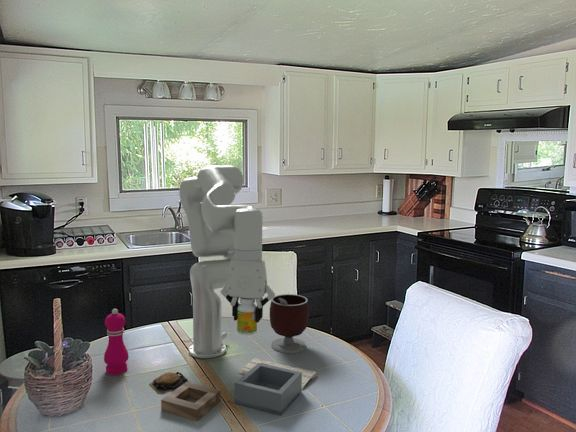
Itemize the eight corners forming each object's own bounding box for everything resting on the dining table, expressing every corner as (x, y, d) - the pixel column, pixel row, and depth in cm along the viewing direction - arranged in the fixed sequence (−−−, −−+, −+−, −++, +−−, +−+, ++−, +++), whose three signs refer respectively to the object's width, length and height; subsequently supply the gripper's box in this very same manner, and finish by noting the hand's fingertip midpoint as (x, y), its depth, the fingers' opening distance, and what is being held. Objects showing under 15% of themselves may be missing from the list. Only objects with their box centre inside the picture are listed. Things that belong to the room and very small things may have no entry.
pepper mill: (121, 377, 149) (119, 313, 147) (99, 374, 151) (97, 311, 148) (133, 366, 156) (131, 306, 154) (112, 364, 158) (110, 304, 155)
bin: (258, 381, 148) (258, 362, 147) (301, 392, 142) (301, 372, 142) (234, 403, 135) (234, 382, 135) (280, 415, 130) (281, 394, 129)
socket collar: (186, 391, 141) (186, 381, 141) (220, 400, 137) (220, 390, 136) (161, 410, 131) (161, 399, 131) (197, 420, 127) (197, 409, 126)
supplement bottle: (233, 333, 133) (233, 298, 132) (243, 327, 138) (244, 293, 137) (250, 336, 131) (250, 301, 130) (260, 330, 136) (261, 296, 135)
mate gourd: (279, 336, 184) (280, 284, 182) (313, 342, 179) (315, 289, 176) (259, 351, 171) (260, 295, 168) (296, 358, 165) (298, 301, 162)
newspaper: (319, 375, 155) (318, 367, 154) (302, 395, 144) (302, 388, 144) (256, 359, 165) (256, 352, 164) (236, 377, 154) (236, 370, 154)
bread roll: (158, 397, 139) (158, 384, 139) (147, 385, 146) (147, 373, 146) (193, 386, 146) (192, 374, 145) (181, 375, 152) (181, 364, 152)
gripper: (212, 255, 130) (212, 321, 132) (276, 259, 126) (275, 327, 129) (221, 250, 137) (221, 312, 140) (282, 253, 134) (281, 317, 136)
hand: (247, 319), depth 134 cm, fingers closed on supplement bottle, 5 cm apart
